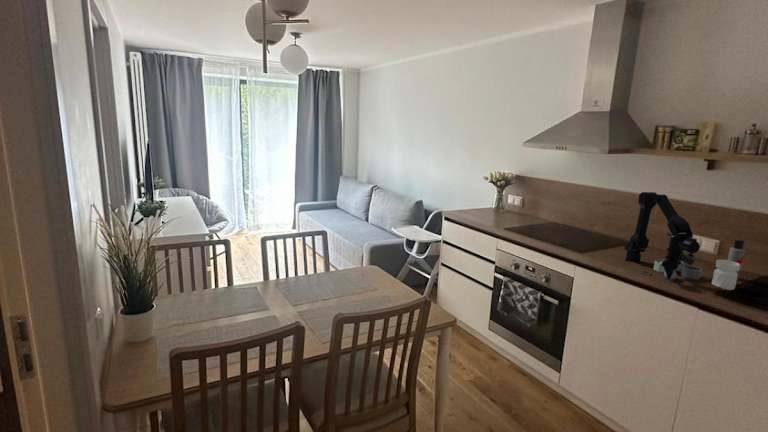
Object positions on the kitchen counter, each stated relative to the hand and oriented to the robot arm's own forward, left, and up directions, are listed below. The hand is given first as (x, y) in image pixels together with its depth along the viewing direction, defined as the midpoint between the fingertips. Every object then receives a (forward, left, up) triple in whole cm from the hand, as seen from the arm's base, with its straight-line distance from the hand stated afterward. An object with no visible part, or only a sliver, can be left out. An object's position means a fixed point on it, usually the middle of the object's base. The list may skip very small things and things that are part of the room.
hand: (669, 277), depth 201 cm
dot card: (+1, +17, -2) cm, 17 cm away
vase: (+20, +9, -2) cm, 22 cm away
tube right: (+7, +12, -2) cm, 14 cm away
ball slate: (0, 0, -1) cm, 1 cm away
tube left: (-5, +12, -2) cm, 13 cm away
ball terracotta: (-5, +12, -1) cm, 13 cm away
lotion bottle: (+22, +27, -2) cm, 35 cm away
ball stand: (-5, 0, -2) cm, 5 cm away
